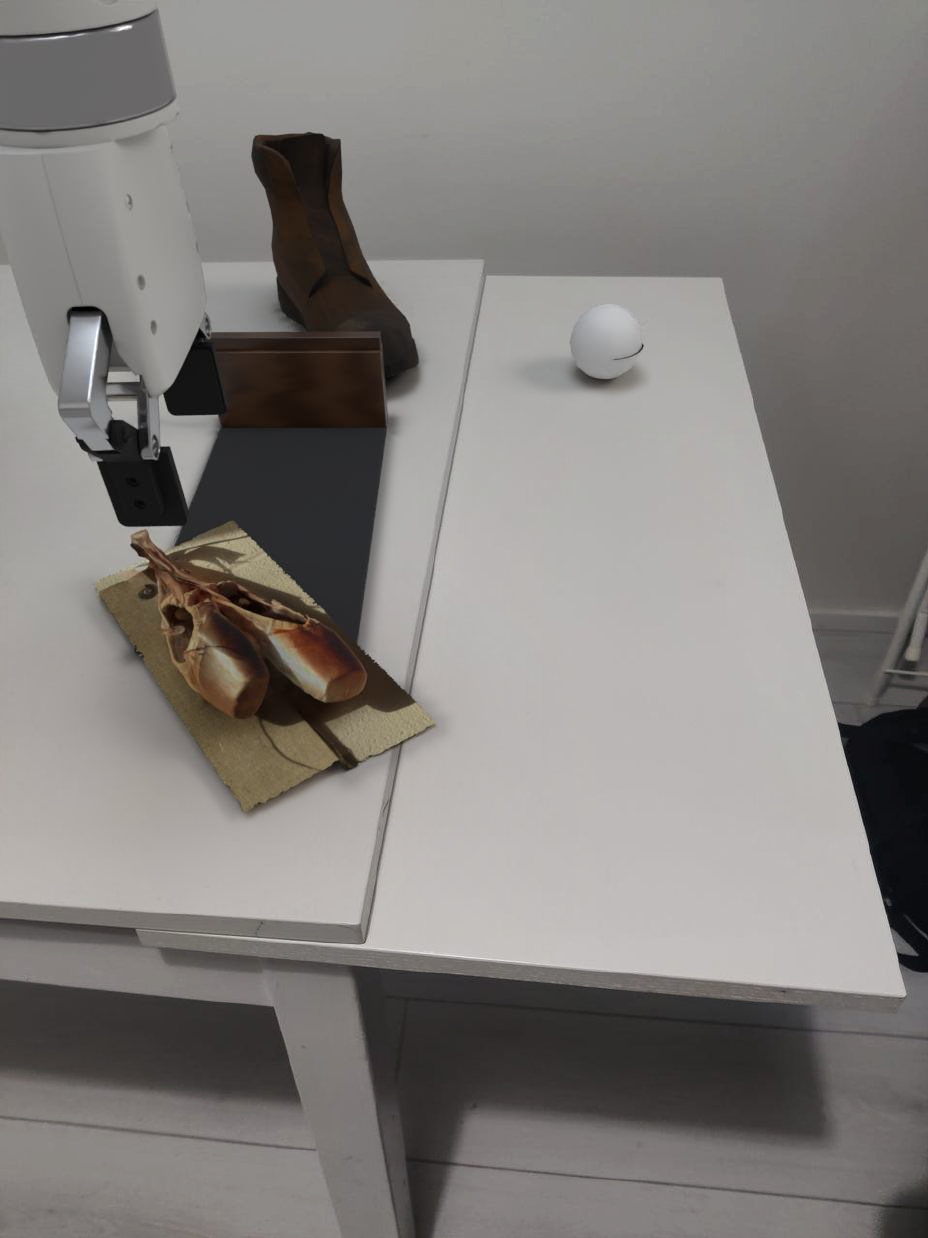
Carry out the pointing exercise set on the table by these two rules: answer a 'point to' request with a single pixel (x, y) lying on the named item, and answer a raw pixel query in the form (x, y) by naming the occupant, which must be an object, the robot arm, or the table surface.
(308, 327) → the boot
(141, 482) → the robot arm
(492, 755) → the table surface
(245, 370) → the brown wooden panel
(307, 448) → the black display mat
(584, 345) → the white ovoid
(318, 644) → the ballet pointe shoes
